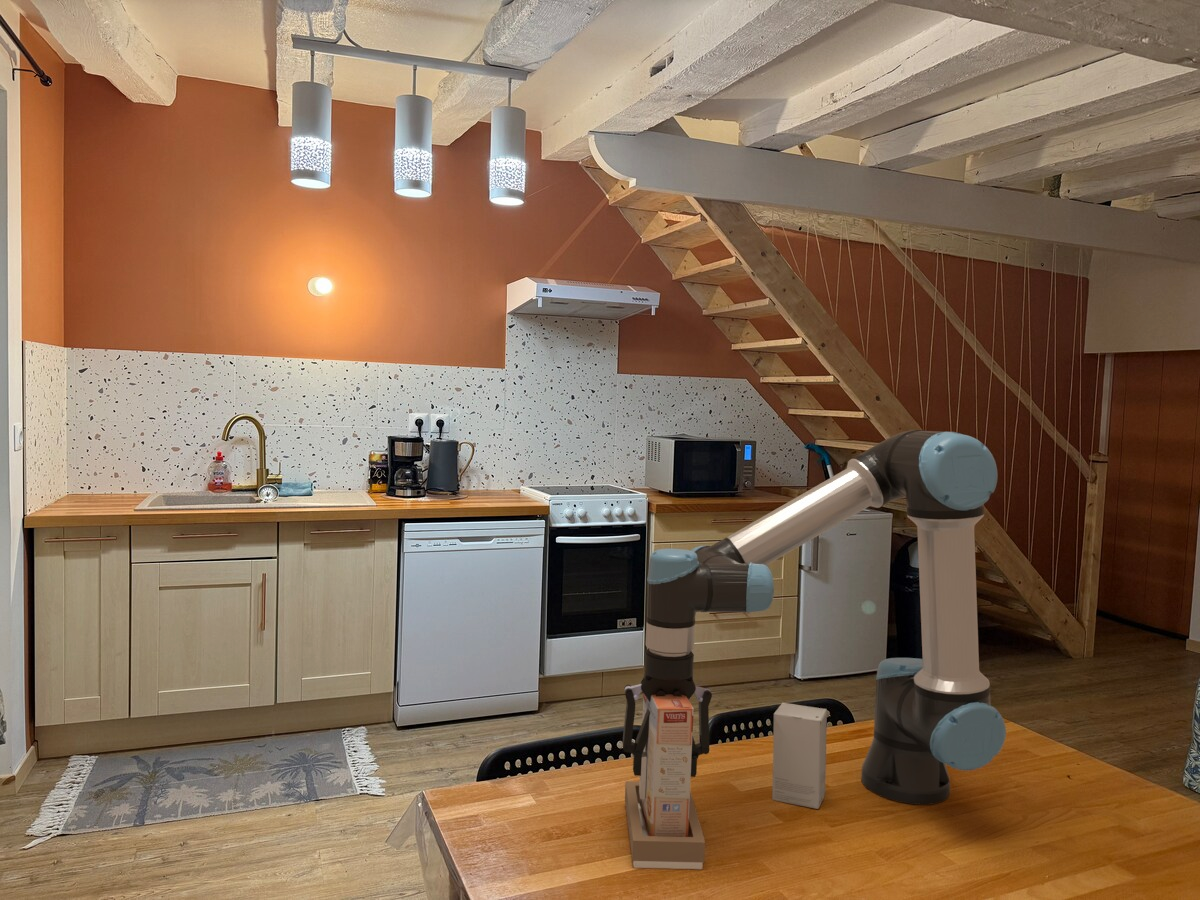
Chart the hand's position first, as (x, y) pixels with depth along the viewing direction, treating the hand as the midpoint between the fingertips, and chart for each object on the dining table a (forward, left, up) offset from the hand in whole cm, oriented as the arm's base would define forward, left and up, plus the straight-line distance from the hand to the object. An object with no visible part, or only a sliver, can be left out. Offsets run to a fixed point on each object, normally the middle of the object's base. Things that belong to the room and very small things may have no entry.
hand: (663, 795), depth 138 cm
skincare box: (-25, -14, -7) cm, 29 cm away
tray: (0, 0, -6) cm, 6 cm away
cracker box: (0, 0, -5) cm, 5 cm away
